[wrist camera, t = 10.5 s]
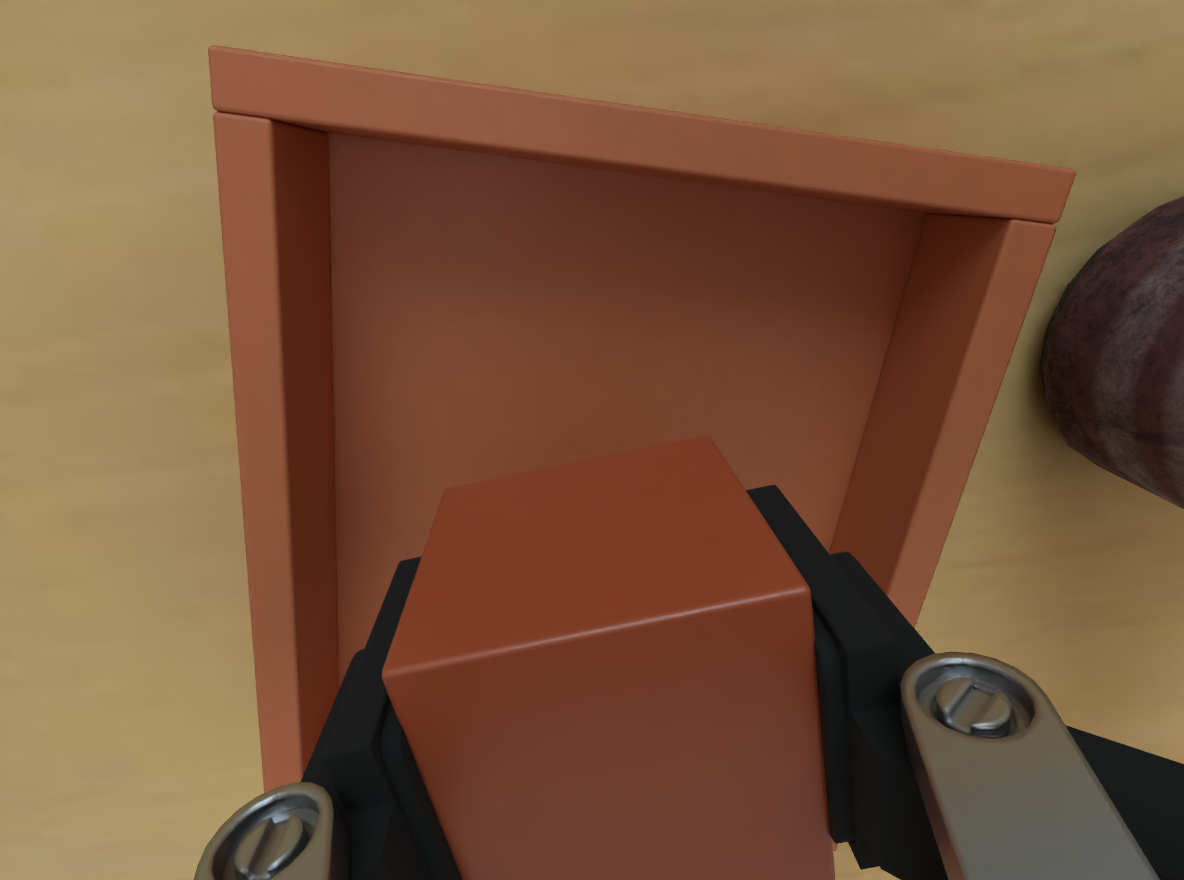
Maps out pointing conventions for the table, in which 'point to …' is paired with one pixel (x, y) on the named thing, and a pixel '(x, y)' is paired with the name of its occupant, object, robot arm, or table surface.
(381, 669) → the robot arm
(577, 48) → the table surface
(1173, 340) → the can
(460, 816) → the terracotta block
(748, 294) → the terracotta tray
